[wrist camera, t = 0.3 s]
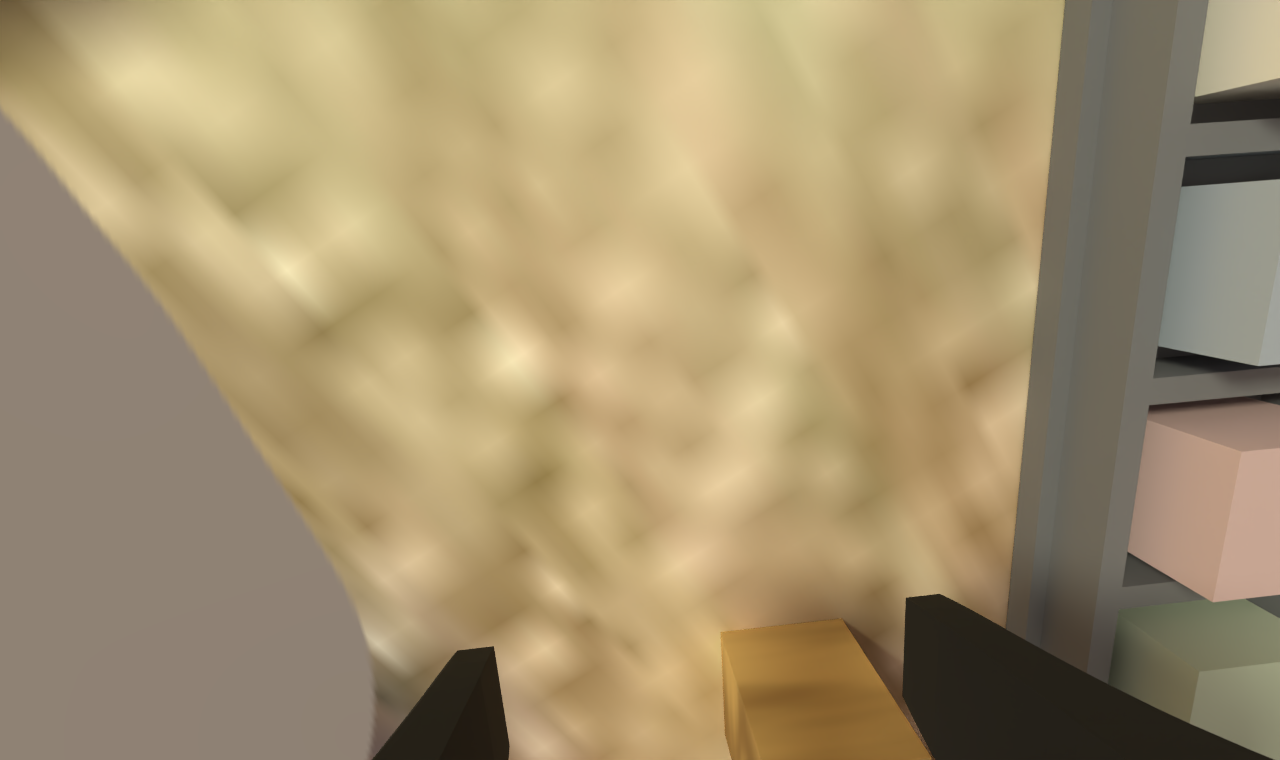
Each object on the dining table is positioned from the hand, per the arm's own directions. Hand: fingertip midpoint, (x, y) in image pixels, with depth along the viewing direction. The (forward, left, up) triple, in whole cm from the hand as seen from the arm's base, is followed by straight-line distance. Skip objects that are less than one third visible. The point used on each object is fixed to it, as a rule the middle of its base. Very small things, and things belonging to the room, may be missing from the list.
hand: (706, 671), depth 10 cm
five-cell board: (-1, -17, -10) cm, 20 cm away
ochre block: (-9, -4, -10) cm, 14 cm away
